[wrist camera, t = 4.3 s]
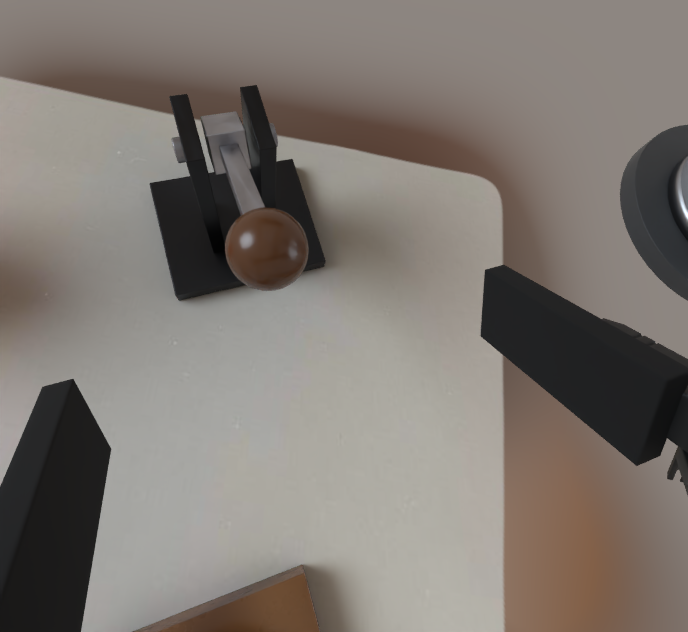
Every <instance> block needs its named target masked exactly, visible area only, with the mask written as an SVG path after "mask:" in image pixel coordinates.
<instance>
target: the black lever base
mask: <svg viewBox="0 0 688 632" xmlns="http://www.w3.org/2000/svg"><path fill="white" fill-rule="evenodd" d="M240 91H241V102H242V114H243V125H244V128H245V131H246V137H247V142H248V148H249V154H250V160H251V166H252V168H251V169H249V171H250V173H251V175H252V178H253V180H254V182H255V185H256V187H257V189H258V192H259V194H260V196H261V199H262V201H263V203H264V206H265V207H268V208H275V209H279V210H281V211H284V212H286V213H288V214H289V215H291V216H292V217H293V218H294V219H295V220H296V221H297V222H298V223H299V224H300V225H301V227H302V228H303V230H304V232H305V235H306V237H307V241H308V247H309V252H308V259H307V263H306V266H305V268H304V270H303V271H307V270H311V269H316V268H320V267H324V264H325V258H324V255H323V252H322V249H321V245H320V242H319V239H318V236H317V233H316V230H315V227H314V224H313V221H312V218H311V215H310V212H309V208H308V205H307V202H306V199H305V196H304V193H303V190H302V187H301V184H300V181H299V178H298V175H297V172H296V168H295V165H294V162H293V159H289V160H283V161H278V162H276V148H277V145H278V141H277V134H276V130H275V127H274V125H273V123H269V122H268V119H267V116H266V113H265V109H264V106H263V103H262V100H261V97H260V94H259V90H258V87H257V85H254V86H247V87H240ZM169 98H170V101H171V105H172V109H173V113H174V117H175V121H176V125H177V129H178V133H179V136H180V137H175V138H172V143H173V147H174V151H175V154H176V158H177V161H178V163H183V162H186V163H187V167H188V170H189V173H190V176H189V177H183V178H178V179H172V180H166V181H160V182H154V183H150V188H151V192H152V196H153V201H154V205H155V209H156V214H157V218H158V222H159V226H160V231H161V235H162V239H163V244H164V248H165V252H166V257H167V261H168V265H169V270H170V274H171V278H172V282H173V287H174V291H175V295H176V297H177V298H178V300H183V299H187V298H191V297H196V296H200V295H204V294H209V293H213V292H217V291H221V290H226V289H230V288H234V287H239V286H243V285H246V284H244V283H243V282H241V281H240V280H239V279H238V278H237V277H236V276H235V275H234V273H233V272H232V270H231V269H230V267H229V265H228V262H227V259H226V254H225V241H226V237H227V234H228V231H229V229H230V227H231V226H232V224H233V223H234V222H235V221H236V220H237V218H239V217H240V216H241V214H240V211H239V208H238V206H237V203H236V200H235V197H234V194H233V191H232V188H231V185H230V183H229V180H228V177H227V174H226V173H223V174H217V175H216V174H215V172H213V173H208V170H207V166H206V162H205V157H204V154H203V150H202V146H201V143H200V139H199V135H198V132H197V128H196V124H195V120H194V117H193V113H192V109H191V106H190V102H189V98H188V95H187V94H184V95H175V96H170V97H169Z"/></svg>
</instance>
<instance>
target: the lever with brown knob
mask: <svg viewBox="0 0 688 632" xmlns="http://www.w3.org/2000/svg"><path fill="white" fill-rule="evenodd" d="M200 118H201V123H202V127H203V131H204V135H205V139H206V144H207V148H208V152H209V156H210V159H211V162H212V165H213V168H214V172H215V174H216V175H217V174H223V173H226V174H227V177H228V180H229V183H230V185H231V188H232V191H233V194H234V197H235V200H236V203H237V206H238V208H239V211H240V214H241V216H240V217H239V218H237V220H236V221H235V222H234V223H233V224H232V226H231V227H230V229H229V231H228V234H227V237H226V241H225V254H226V259H227V262H228V265H229V267H230V269H231V270H232V272H233V273H234V275H235V276H236V277H237V278H238V279H239V280H240V281H241V282H243V283H244V284H246V285H248V286H249V287H252V288H254V289H258V290H263V291H272V290H278V289H281V288H284V287H286V286H288V285H290V284H291V283H293V282H294V281H295V280H296V279H297V278H298V277H299V276H300V275H301V273H302V272H303V270H304V268H305V266H306V263H307V259H308V252H309V247H308V241H307V237H306V235H305V232H304V230H303V228H302V227H301V225H300V224H299V223H298V222H297V221H296V220H295V219H294V218H293V217H292V216H291V215H289V214H288V213H286V212H284V211H281V210H279V209H275V208H268V207H265V206H264V203H263V201H262V199H261V196H260V194H259V192H258V189H257V187H256V185H255V182H254V180H253V178H252V175H251V173H250V171H249V169H251V168H252V166H251V160H250V154H249V148H248V142H247V137H246V131H245V128H244V126H243V124H242V122H241V120H240V118H239V116H238V114H237V112H229V113H222V114H215V115H208V116H201V117H200Z"/></svg>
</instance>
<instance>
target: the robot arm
mask: <svg viewBox="0 0 688 632" xmlns="http://www.w3.org/2000/svg"><path fill="white" fill-rule="evenodd" d="M668 201H669V205H670V209H671V212H672V215H673V217H674V220H675V222H676V224H677V226H678V227H679V229H680V231H681V232H682V234H683V235H684V237H685V238H686V239H687V240H688V156H686V157H685V158H684V159H682V160H681V161H680V162H679V163H678V164H677V165H676V166H675V167H674V169H673V171H672V173H671V175H670V178H669V182H668ZM481 337H482V338H483V339H485V340H486V341H487V342H488V343H489V344H491V345H492V346H493V347H494V348H495V349H497V350H498V351H499V352H500V353H501V354H503V355H504V356H505V357H506V358H508V359H509V360H510V361H511V362H512V363H513V364H515V365H516V366H517V367H518V368H520V369H521V370H522V371H523V372H524V373H526V374H527V375H528V376H529V377H530V378H532V379H533V380H534V381H535V382H537V383H538V384H539V385H540V386H541V387H542V388H544V389H545V390H546V391H547V392H548V393H550V394H551V395H552V396H553V397H554V398H556V399H557V400H558V401H559V402H560V403H562V404H563V405H564V406H565V407H566V408H568V409H569V410H570V411H571V412H572V413H574V414H575V415H576V416H577V417H578V418H580V419H581V420H582V421H583V422H584V423H586V424H587V425H588V426H589V427H590V428H592V429H593V430H594V431H595V432H597V433H598V434H599V435H600V436H601V437H603V438H604V439H605V440H606V441H607V442H609V443H610V444H611V445H612V446H613V447H615V448H616V449H617V450H618V451H619V452H621V453H622V454H623V455H624V456H626V457H627V458H628V459H629V460H630V461H631V462H633V463H634V464H635V465H636V466H638V465H640V464H642V463H645V462H647V461H649V460H651V459H654V458H656V457H658V456H660V455H661V452H662V449H663V447H664V444H665V442H666V439H667V438H668V439H669V440H671V441H672V442H673V443H675V444H676V445H678V448H677V450H676V453H675V455H674V458H673V460H672V463H671V465H670V467H669V470H668V473H667V474H668V475H667V479H670V480H673V478H674V476H675V473H676V471H677V470H678V469H679V470H680V473H681V476H682V477H681V479H680V482H684V485H685V488H686V491H687V495H688V359H686V358H685V357H683V356H681V355H679V354H677V353H676V352H674V351H672V350H670V349H668V348H666V347H664V346H663V345H661V344H659V343H658V344H656V343H655V341H653V340H652V339H650V338H648V337H646V336H641V334H640V333H639V332H637V331H635V330H633V329H631V328H629V327H627V326H626V325H624V324H620V323H617V322H614V321H610V320H607V319H600V318H598V317H596V316H595V315H593V314H591V313H589V312H587V311H586V310H584V309H582V308H580V307H579V306H577V305H575V304H573V303H571V302H570V301H568V300H566V299H564V298H562V297H561V296H559V295H557V294H555V293H553V292H552V291H550V290H548V289H546V288H545V287H543V286H541V285H539V284H537V283H536V282H534V281H532V280H530V279H528V278H527V277H525V276H523V275H521V274H519V273H518V272H516V271H514V270H512V269H510V268H509V267H507V266H505V265H501V266H498V267H494V268H490V269H486V270H485V278H484V293H483V307H482V322H481ZM110 453H111V448H110V446H109V444H108V442H107V440H106V439H105V437H104V435H103V433H102V431H101V429H100V427H99V426H98V424H97V422H96V420H95V418H94V416H93V414H92V413H91V411H90V409H89V407H88V405H87V403H86V401H85V400H84V398H83V396H82V394H81V392H80V390H79V388H78V387H77V385H76V383H75V381H74V379H70V380H67V381H63V382H59V383H55V384H52V385H48V386H44V387H42V389H41V392H40V394H39V396H38V399H37V401H36V404H35V406H34V408H33V411H32V413H31V415H30V418H29V420H28V422H27V425H26V427H25V430H24V432H23V434H22V437H21V439H20V441H19V444H18V446H17V448H16V451H15V453H14V456H13V458H12V460H11V463H10V465H9V467H8V470H7V472H6V475H5V477H4V479H3V482H2V484H1V486H0V632H81V627H82V621H83V615H84V609H85V603H86V597H87V591H88V585H89V579H90V573H91V567H92V561H93V555H94V549H95V543H96V537H97V531H98V525H99V519H100V513H101V507H102V501H103V495H104V489H105V483H106V477H107V471H108V465H109V459H110Z"/></svg>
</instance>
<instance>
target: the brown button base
mask: <svg viewBox="0 0 688 632" xmlns="http://www.w3.org/2000/svg"><path fill="white" fill-rule="evenodd" d="M133 632H320V629H319V625H318V621H317V617H316V614H315V610H314V606H313V602H312V598H311V595H310V591H309V587H308V583H307V579H306V576H305V572H304V568H303V565H300V566H297V567H295V568H292V569H290V570H287V571H284V572H282V573H279V574H277V575H274V576H272V577H269V578H267V579H264V580H262V581H259V582H257V583H254V584H252V585H249V586H247V587H244V588H242V589H239V590H237V591H234V592H232V593H229V594H226V595H224V596H221V597H219V598H216V599H214V600H211V601H209V602H206V603H204V604H201V605H199V606H196V607H194V608H191V609H189V610H186V611H184V612H181V613H179V614H176V615H174V616H171V617H169V618H166V619H163V620H161V621H158V622H156V623H153V624H151V625H148V626H146V627H143V628H141V629H138V630H136V631H133Z"/></svg>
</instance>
